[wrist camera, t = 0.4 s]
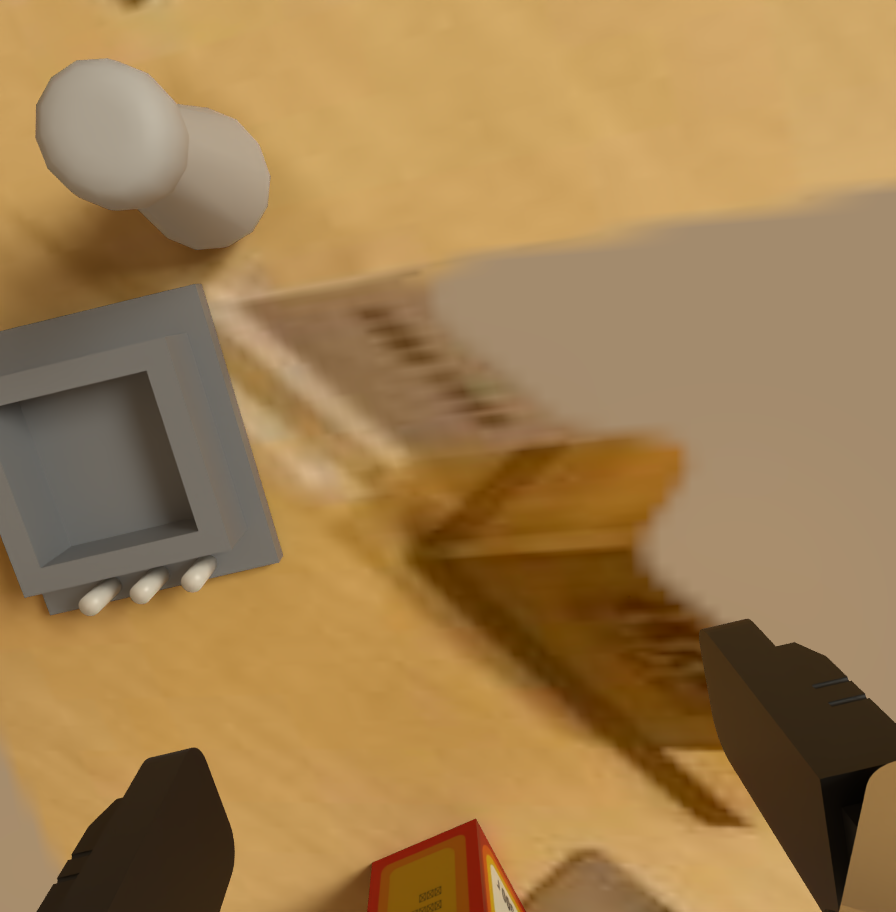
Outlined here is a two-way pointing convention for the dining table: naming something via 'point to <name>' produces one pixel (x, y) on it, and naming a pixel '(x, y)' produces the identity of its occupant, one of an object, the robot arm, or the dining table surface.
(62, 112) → the salt shaker
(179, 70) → the dining table surface
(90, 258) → the dining table surface
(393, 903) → the baking soda box
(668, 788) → the dining table surface
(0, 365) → the socket
